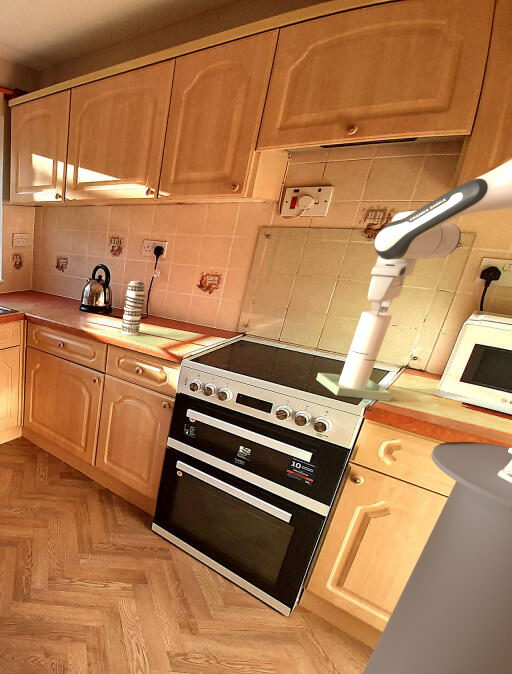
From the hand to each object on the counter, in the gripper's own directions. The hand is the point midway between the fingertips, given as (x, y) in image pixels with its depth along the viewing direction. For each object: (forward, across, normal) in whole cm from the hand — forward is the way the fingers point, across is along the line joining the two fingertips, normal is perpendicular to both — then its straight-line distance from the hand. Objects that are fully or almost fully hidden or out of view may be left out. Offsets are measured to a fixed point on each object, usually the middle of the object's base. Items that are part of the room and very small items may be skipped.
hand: (378, 314), depth 132 cm
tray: (+26, 0, 0) cm, 26 cm away
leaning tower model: (+25, -1, -90) cm, 93 cm away
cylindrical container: (+25, +1, 0) cm, 25 cm away
